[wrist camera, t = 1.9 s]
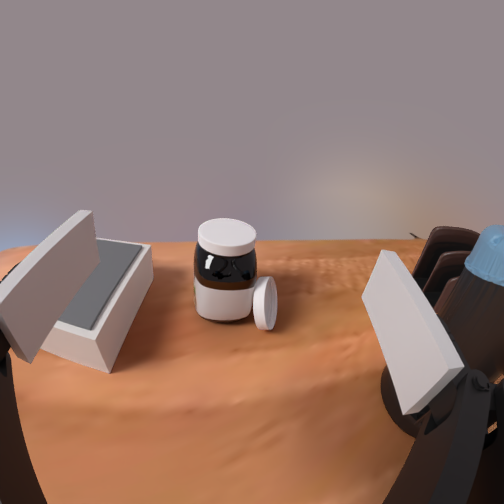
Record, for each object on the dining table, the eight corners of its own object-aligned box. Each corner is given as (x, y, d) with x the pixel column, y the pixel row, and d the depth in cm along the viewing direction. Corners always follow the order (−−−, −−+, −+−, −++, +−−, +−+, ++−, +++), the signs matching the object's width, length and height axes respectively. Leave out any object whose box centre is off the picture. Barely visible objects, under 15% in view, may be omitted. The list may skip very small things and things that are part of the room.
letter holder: (406, 281, 49) (433, 220, 42) (460, 281, 52) (484, 231, 45) (430, 315, 41) (466, 248, 33) (482, 308, 44) (511, 255, 36)
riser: (153, 278, 41) (150, 242, 37) (109, 373, 25) (93, 337, 22) (64, 262, 40) (56, 229, 36) (7, 333, 24) (-11, 298, 21)
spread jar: (192, 282, 41) (194, 211, 35) (264, 281, 44) (277, 215, 38) (195, 343, 31) (195, 265, 25) (285, 339, 34) (308, 265, 28)
